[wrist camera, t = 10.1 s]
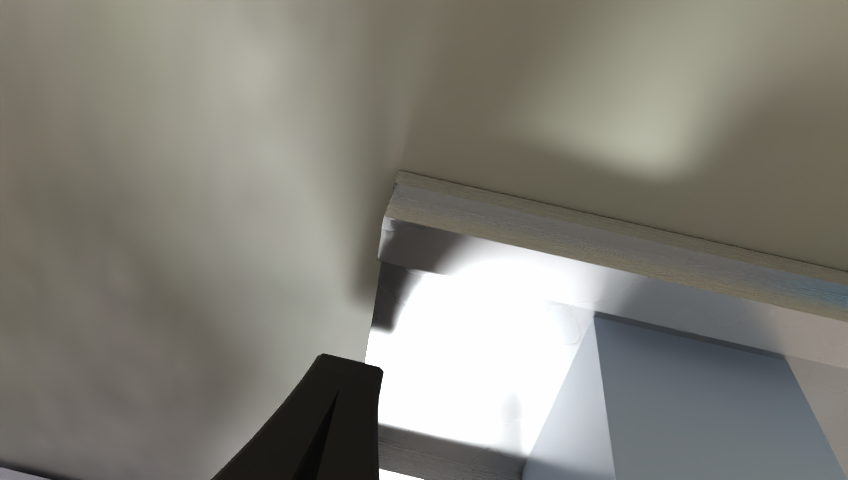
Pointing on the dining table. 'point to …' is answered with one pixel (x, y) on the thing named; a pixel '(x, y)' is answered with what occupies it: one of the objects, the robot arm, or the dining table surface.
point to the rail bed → (562, 319)
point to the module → (677, 414)
